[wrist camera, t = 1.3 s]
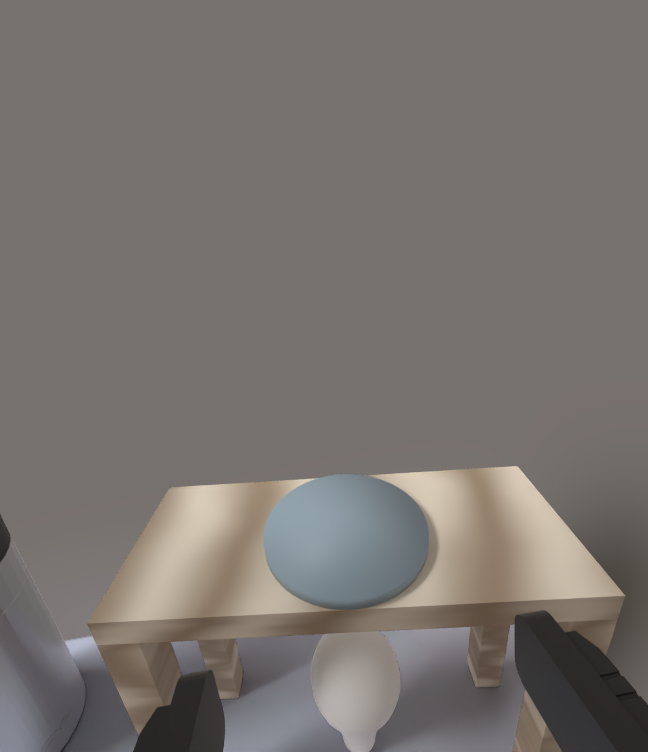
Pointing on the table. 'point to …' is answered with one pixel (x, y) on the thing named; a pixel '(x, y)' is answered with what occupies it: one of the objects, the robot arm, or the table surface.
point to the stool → (347, 575)
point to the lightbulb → (355, 684)
